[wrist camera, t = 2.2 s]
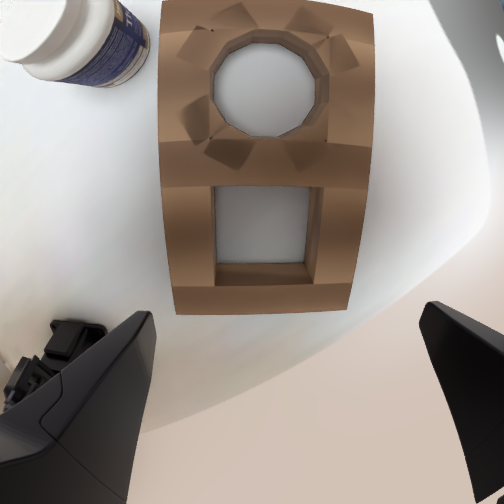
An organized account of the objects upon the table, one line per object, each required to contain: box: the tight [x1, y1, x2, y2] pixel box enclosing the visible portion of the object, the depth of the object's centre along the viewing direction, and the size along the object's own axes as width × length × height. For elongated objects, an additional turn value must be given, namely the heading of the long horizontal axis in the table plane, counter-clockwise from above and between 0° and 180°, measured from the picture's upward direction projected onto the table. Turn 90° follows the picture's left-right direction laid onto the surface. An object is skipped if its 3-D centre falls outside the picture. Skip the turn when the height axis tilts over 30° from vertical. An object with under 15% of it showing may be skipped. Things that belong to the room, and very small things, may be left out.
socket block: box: [158, 0, 375, 315], centre depth 17 cm, size 20×12×3 cm, turn 179°
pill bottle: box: [0, 0, 150, 88], centre depth 10 cm, size 5×5×10 cm
